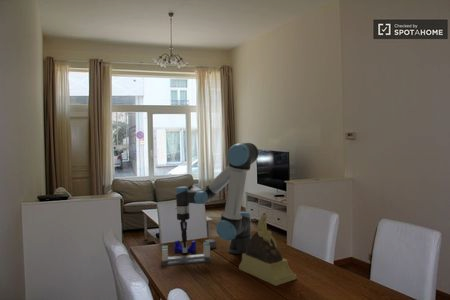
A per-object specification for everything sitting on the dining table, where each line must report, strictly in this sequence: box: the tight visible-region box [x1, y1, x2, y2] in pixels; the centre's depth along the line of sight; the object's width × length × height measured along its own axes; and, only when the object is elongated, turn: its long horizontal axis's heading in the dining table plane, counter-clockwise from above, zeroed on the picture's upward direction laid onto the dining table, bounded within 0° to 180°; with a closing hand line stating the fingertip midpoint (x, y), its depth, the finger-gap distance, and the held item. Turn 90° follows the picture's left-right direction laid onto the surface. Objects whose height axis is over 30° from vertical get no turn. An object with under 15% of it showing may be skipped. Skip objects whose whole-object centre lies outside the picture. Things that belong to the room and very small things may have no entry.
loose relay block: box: [204, 238, 217, 249], centre depth 239 cm, size 5×6×4 cm
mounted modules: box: [161, 242, 211, 262], centre depth 214 cm, size 26×7×6 cm, turn 99°
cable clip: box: [173, 239, 197, 253], centre depth 231 cm, size 12×4×6 cm, turn 74°
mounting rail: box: [162, 253, 212, 267], centre depth 214 cm, size 26×12×2 cm, turn 99°
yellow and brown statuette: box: [238, 213, 298, 287], centre depth 189 cm, size 28×13×30 cm, turn 34°
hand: (184, 250), depth 231 cm, fingers open, 6 cm apart
